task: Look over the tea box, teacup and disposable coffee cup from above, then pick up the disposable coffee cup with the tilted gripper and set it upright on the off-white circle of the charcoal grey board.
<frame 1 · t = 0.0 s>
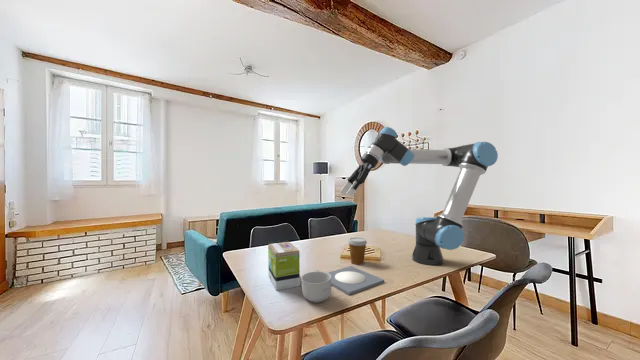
hand: (345, 194, 110), 36 cm above the table, tool tilted 35°, fingers open, 13 cm apart
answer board: (350, 279, 103), on the table
teacup: (317, 297, 89), on the table
tea box: (283, 282, 102), on the table
disposable coffee cup: (357, 263, 125), on the table
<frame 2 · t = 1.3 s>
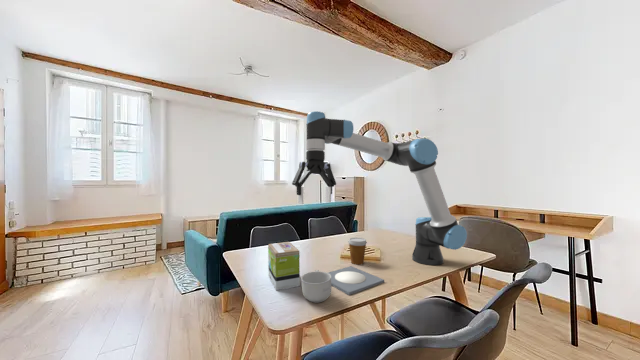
hand: (315, 202, 99), 33 cm above the table, tool pointing down, fingers open, 13 cm apart
nothing on the table moved.
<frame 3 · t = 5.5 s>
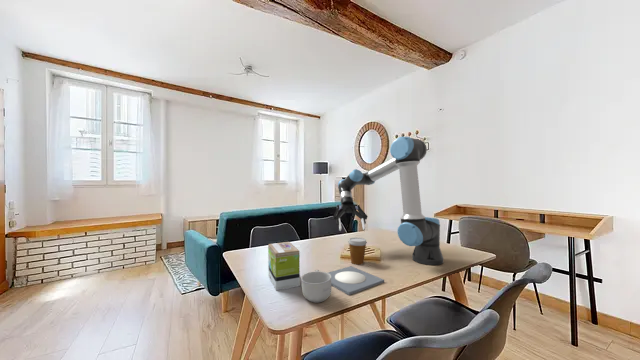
hand: (352, 229, 136), 15 cm above the table, tool tilted 45°, fingers open, 13 cm apart
nothing on the table moved.
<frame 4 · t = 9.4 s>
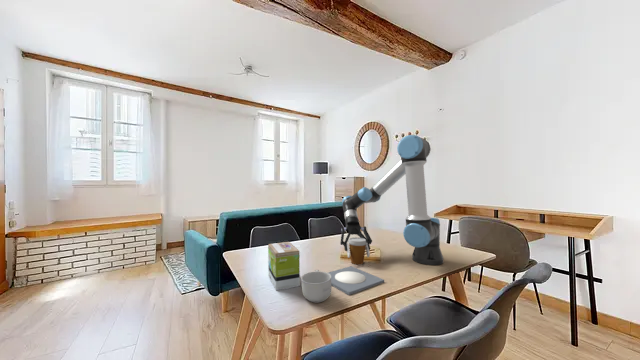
hand: (358, 256, 122), 4 cm above the table, tool tilted 45°, fingers closed on disposable coffee cup, 9 cm apart
disposable coffee cup: (357, 263, 125), on the table, touching gripper
everything else where it was.
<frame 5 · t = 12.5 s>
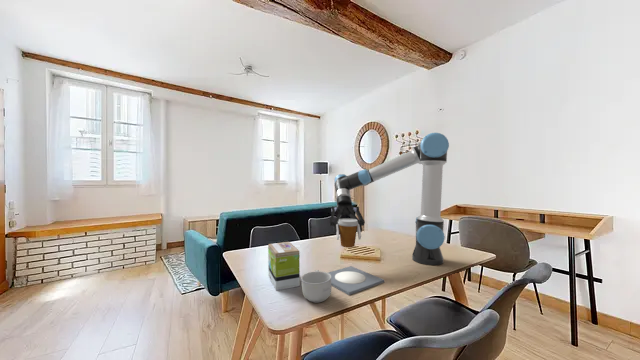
hand: (349, 238, 110), 16 cm above the table, tool tilted 45°, fingers closed on disposable coffee cup, 9 cm apart
disposable coffee cup: (347, 246, 113), point 12 cm above the table, touching gripper
everything else where it was.
when the fingers open (7 cm above the table, at t = 16.1 s): disposable coffee cup drops 1 cm, resting on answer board.
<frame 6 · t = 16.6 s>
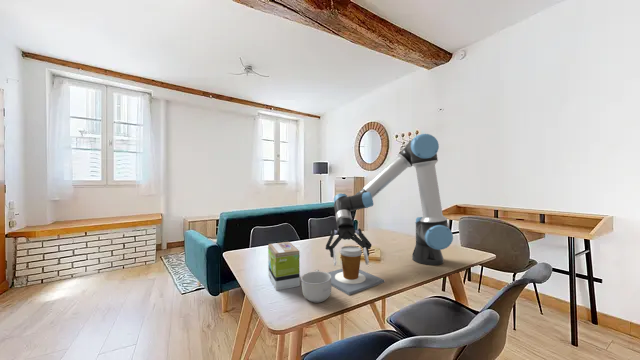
hand: (351, 263, 101), 8 cm above the table, tool tilted 45°, fingers open, 13 cm apart
disposable coffee cup: (350, 277, 104), point 1 cm above the table, touching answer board
everything else where it was.
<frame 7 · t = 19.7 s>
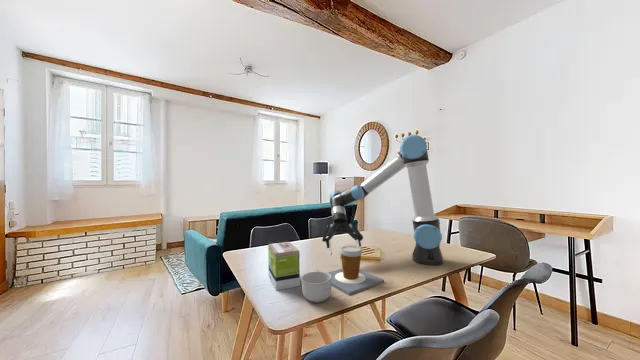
hand: (345, 253, 115), 8 cm above the table, tool tilted 45°, fingers open, 13 cm apart
nothing on the table moved.
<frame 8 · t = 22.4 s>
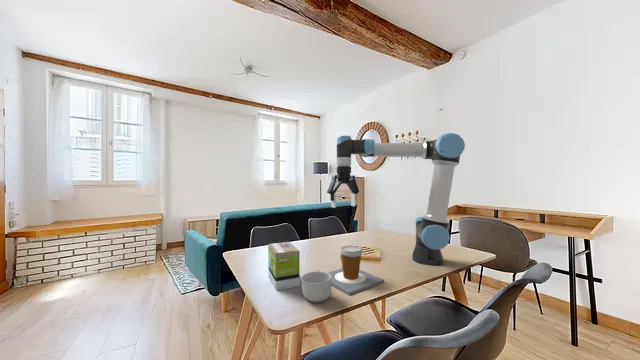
hand: (343, 206, 127), 29 cm above the table, tool pointing down, fingers open, 13 cm apart
nothing on the table moved.
at the end: disposable coffee cup inside the target area on the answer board (0.4 cm from its centre), point 1.0 cm above the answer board's base; disposable coffee cup tilted 0°; the gripper is holding nothing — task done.
